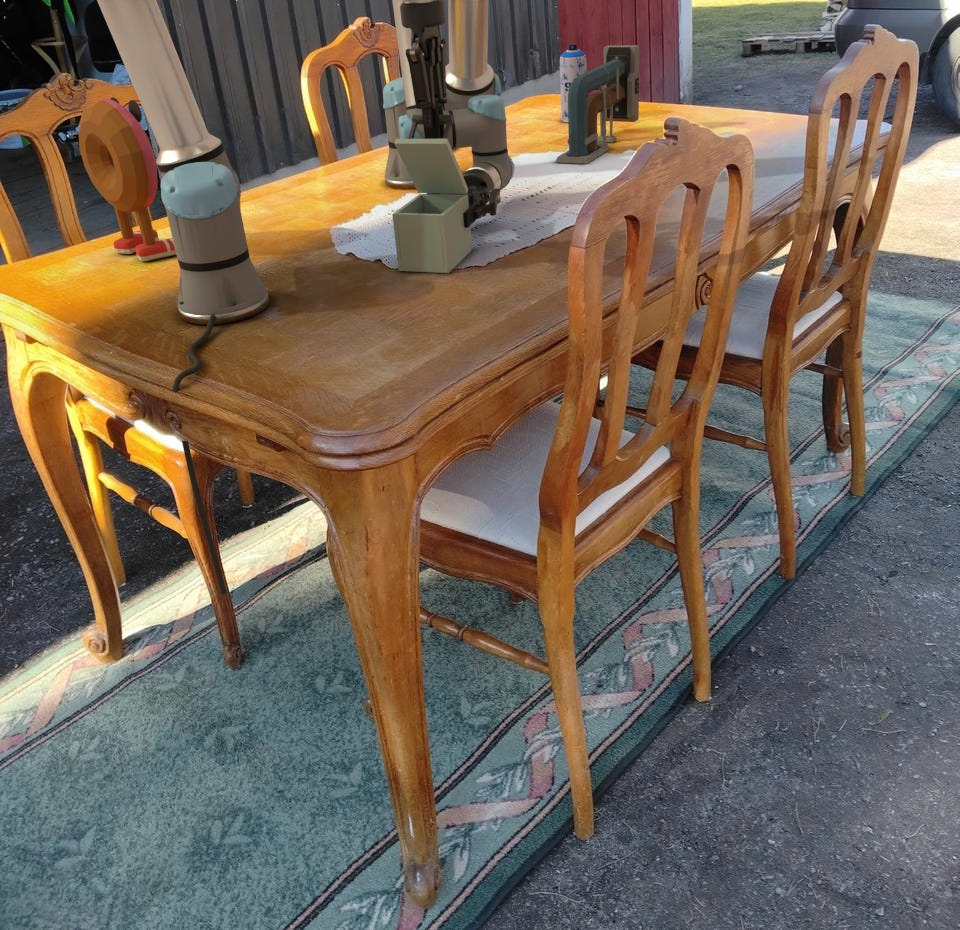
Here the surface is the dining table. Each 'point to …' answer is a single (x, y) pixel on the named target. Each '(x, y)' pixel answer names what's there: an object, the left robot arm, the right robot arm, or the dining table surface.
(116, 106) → the toy
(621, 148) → the dining table surface
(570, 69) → the aerosol can
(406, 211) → the chest
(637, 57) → the clamp
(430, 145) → the lid
